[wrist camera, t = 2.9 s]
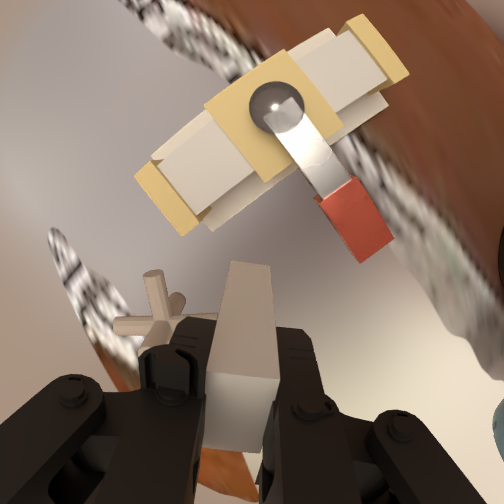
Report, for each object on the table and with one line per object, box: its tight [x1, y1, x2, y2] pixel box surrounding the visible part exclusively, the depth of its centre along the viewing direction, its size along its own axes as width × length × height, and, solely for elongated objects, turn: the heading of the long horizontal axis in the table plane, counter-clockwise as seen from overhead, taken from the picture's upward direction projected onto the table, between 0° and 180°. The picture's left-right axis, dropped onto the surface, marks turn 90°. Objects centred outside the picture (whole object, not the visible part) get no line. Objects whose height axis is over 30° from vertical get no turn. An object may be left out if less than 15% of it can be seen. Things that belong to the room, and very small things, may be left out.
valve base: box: [134, 14, 410, 237], centre depth 22 cm, size 9×20×10 cm, turn 127°
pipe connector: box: [113, 270, 219, 356], centre depth 28 cm, size 10×10×10 cm
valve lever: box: [249, 81, 394, 263], centre depth 18 cm, size 12×3×2 cm, turn 37°
